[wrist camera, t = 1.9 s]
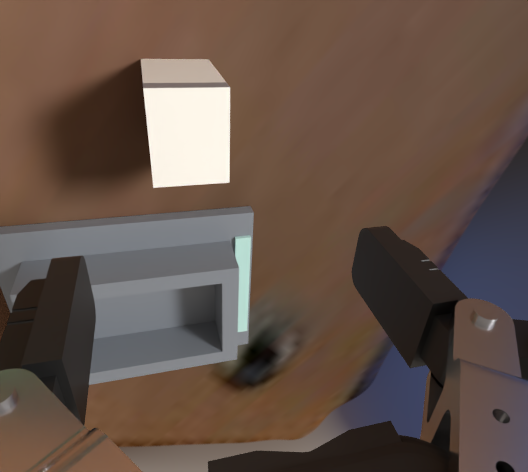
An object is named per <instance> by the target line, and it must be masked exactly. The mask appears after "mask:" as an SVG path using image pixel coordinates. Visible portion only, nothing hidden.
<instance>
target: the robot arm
mask: <svg viewBox="0 0 528 472" xmlns="http://www.w3.org/2000/svg"><path fill="white" fill-rule="evenodd" d="M352 278H353V283H354V285H355V287H356V289H357V291H358V292H359V294H360V295H361V296H362V298H363V299H364V301H365V302H366V304H367V305H368V307H369V308H370V310H371V311H372V313H373V314H374V316H375V317H376V319H377V320H378V322H379V323H380V325H381V326H382V327H383V329H384V330H385V332H386V333H387V335H388V336H389V338H390V339H391V341H392V342H393V344H394V345H395V347H396V348H397V350H398V351H399V353H400V354H401V356H402V357H403V358H404V360H405V361H406V363H407V364H408V366H409V367H410V368H413V367H418V366H423V365H427V366H428V368H429V369H430V371H429V374H428V376H427V381H426V391H425V401H424V412H423V421H422V430H421V436H420V439H417V438H413V437H408V436H402V435H398V434H397V432H396V430H395V428H394V426H393V425H392V423H391V421H387V422H383V423H378V424H374V425H369V426H365V427H360V428H356V429H351V430H348V431H347V432H345V433H343V434H341V435H339V436H338V437H336V438H334V439H332V440H330V441H329V442H327V443H325V444H323V445H321V446H320V447H318V448H316V449H314V450H312V451H310V452H303V453H302V452H277V451H253V452H249V453H245V454H240V455H235V456H231V457H227V458H222V459H218V460H213V461H209V462H208V472H528V321H525V320H515V319H511V317H510V316H509V315H508V314H507V313H506V312H505V311H504V310H502V309H501V308H499V307H498V306H496V305H494V304H492V303H490V302H487V301H484V300H480V299H468V298H467V297H466V296H465V295H464V294H463V293H462V292H461V291H460V290H459V289H458V288H457V287H456V286H455V285H454V284H453V283H452V282H451V281H450V280H449V279H448V278H447V277H446V276H445V275H444V274H443V273H442V271H441V270H438V267H437V266H436V265H435V264H434V263H433V262H432V261H429V258H428V257H427V256H426V255H425V254H424V253H423V252H422V251H421V250H420V249H419V248H417V247H415V246H413V245H412V244H410V243H408V242H406V241H405V240H401V239H400V238H399V237H398V236H397V235H396V234H395V233H394V232H393V231H392V230H391V229H390V228H389V227H387V226H382V227H372V228H363V229H362V230H361V231H360V234H359V238H358V242H357V247H356V252H355V257H354V262H353V267H352ZM95 323H96V311H95V302H94V297H93V292H92V288H91V283H90V279H89V274H88V270H87V266H86V261H85V258H84V256H83V255H81V256H71V257H61V258H52V259H51V262H50V265H49V269H48V272H47V276H46V278H44V279H35V280H31V281H30V282H29V283H28V284H27V285H26V286H25V287H24V288H23V289H22V290H21V291H20V292H19V293H18V294H17V296H16V299H15V302H14V305H13V308H12V313H10V316H9V319H8V322H7V326H6V327H5V330H4V333H3V336H2V338H1V341H0V472H142V471H141V470H140V469H139V468H138V467H137V466H136V465H135V464H134V463H133V462H132V461H131V460H130V459H129V458H128V457H127V456H126V455H125V453H123V451H122V450H120V448H119V447H118V446H117V445H116V444H115V443H114V442H113V441H112V440H111V439H110V438H109V437H108V436H107V435H106V434H105V433H103V432H102V431H101V430H99V429H97V428H94V429H92V430H91V431H90V430H88V429H87V428H86V427H85V426H84V423H85V414H86V405H87V396H88V387H89V378H90V369H91V360H92V351H93V342H94V332H95Z"/></svg>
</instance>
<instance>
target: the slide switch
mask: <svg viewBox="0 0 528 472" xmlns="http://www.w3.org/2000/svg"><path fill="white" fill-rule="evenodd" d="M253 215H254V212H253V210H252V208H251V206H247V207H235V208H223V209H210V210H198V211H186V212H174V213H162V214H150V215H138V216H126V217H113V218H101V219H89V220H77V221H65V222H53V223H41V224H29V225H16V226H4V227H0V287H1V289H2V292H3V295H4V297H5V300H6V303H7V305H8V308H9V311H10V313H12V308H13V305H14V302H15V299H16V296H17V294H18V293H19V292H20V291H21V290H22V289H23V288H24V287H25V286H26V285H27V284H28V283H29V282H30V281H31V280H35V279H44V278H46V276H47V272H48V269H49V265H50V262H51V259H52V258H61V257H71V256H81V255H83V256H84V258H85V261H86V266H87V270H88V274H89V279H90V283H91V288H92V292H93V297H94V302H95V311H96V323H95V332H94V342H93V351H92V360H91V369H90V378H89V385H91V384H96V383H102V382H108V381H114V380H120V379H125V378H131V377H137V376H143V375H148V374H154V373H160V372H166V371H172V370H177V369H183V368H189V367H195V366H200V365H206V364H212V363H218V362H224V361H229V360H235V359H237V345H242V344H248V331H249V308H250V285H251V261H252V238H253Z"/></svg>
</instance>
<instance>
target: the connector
mask: <svg viewBox="0 0 528 472" xmlns="http://www.w3.org/2000/svg"><path fill="white" fill-rule="evenodd" d="M141 68H142V80H143V91H144V101H145V110H146V120H147V130H148V139H149V149H150V159H151V168H152V178H153V188H156V187H171V186H186V185H201V184H216V183H229V173H230V87H229V85H228V84H227V83H226V81H225V80H224V79H223V78H222V76H221V75H220V74H219V72H218V71H217V70H216V68H215V67H214V66H213V65H212V63H211V62H210V61H209V59H141Z"/></svg>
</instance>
